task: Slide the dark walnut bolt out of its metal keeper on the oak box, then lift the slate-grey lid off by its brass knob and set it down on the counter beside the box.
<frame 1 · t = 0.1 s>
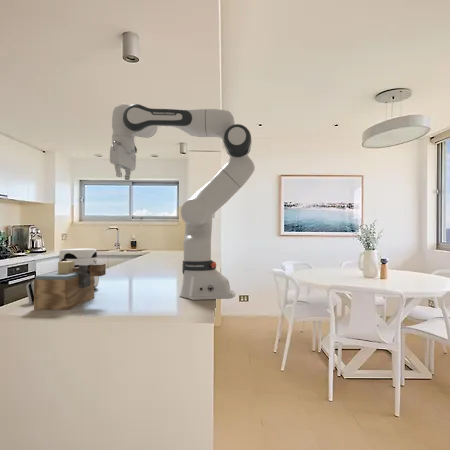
hand: (123, 178, 146), 48 cm above the countertop, fingers open, 8 cm apart
bolt: (88, 269, 129), point 12 cm above the countertop, slide at 0.0 cm
box: (66, 303, 130), on the countertop
milk container: (78, 290, 157), on the countertop
lid: (66, 275, 130), point 10 cm above the countertop, touching box
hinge: (45, 299, 138), on the countertop
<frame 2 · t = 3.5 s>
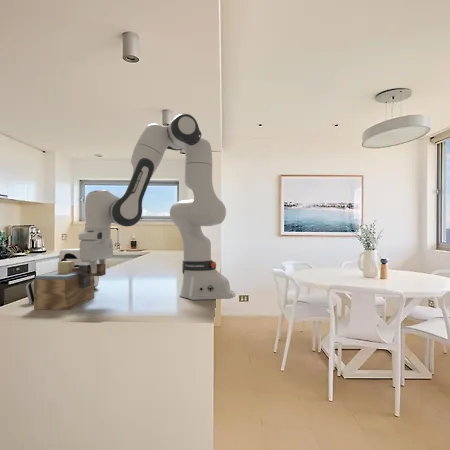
hand: (98, 272, 129), 11 cm above the countertop, fingers closed on bolt, 4 cm apart
bolt: (88, 269, 129), point 12 cm above the countertop, slide at 0.0 cm, touching gripper
everything else where it was.
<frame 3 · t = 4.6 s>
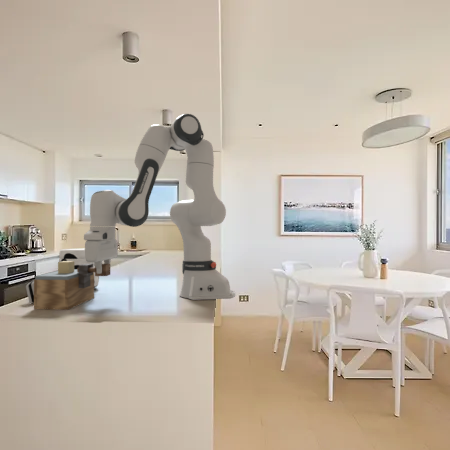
hand: (103, 272, 129), 11 cm above the countertop, fingers closed on bolt, 4 cm apart
bolt: (93, 269, 129), point 12 cm above the countertop, slide at 1.8 cm, touching gripper
everything else where it was.
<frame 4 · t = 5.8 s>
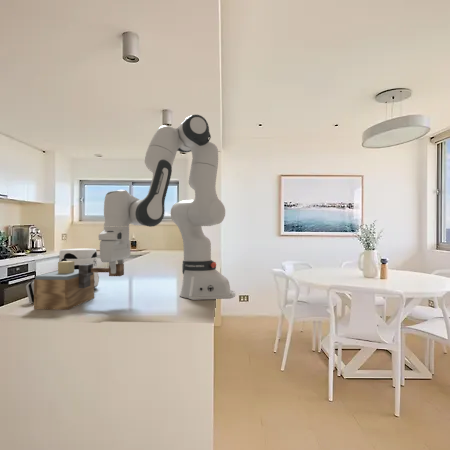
hand: (116, 272, 128), 11 cm above the countertop, fingers closed on bolt, 4 cm apart
bolt: (107, 269, 129), point 12 cm above the countertop, slide at 7.0 cm, touching gripper
everything else where it was.
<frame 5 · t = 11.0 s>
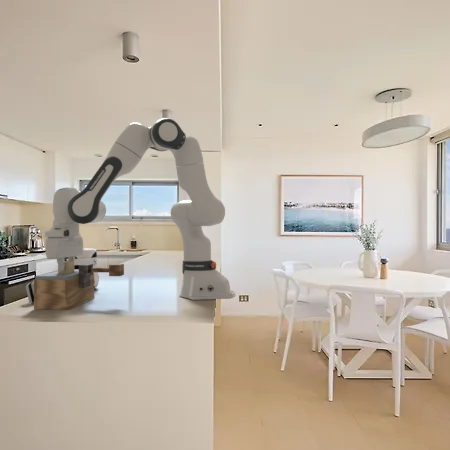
hand: (66, 269, 130), 12 cm above the countertop, fingers closed on lid, 4 cm apart
bolt: (107, 269, 129), point 12 cm above the countertop, slide at 7.0 cm
lid: (66, 275, 130), point 10 cm above the countertop, touching box, gripper
everything else where it was.
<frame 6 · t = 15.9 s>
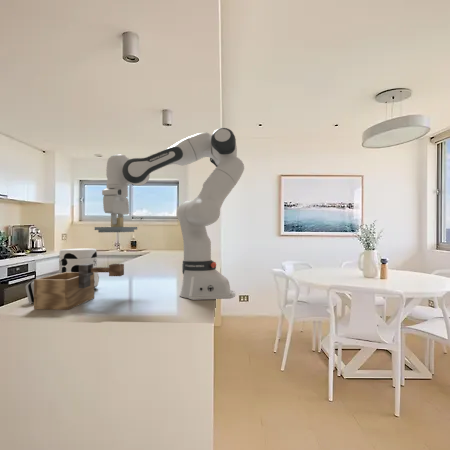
hand: (117, 224, 153), 29 cm above the countertop, fingers closed on lid, 4 cm apart
lid: (117, 229, 153), point 27 cm above the countertop, touching gripper
everything else where it was.
when the fingers open (5 cm above the countertop, at t = 20.8 s): lid drops 2 cm, point 1 cm above the countertop.
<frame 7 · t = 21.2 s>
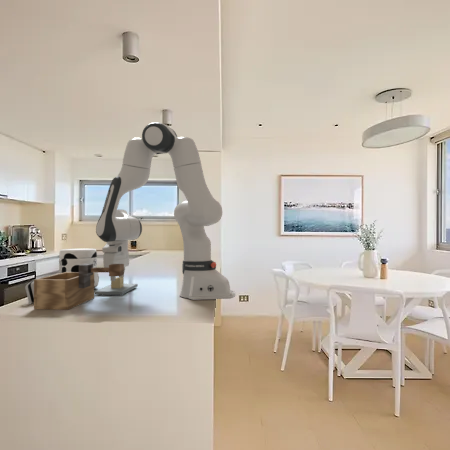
hand: (117, 279, 153), 5 cm above the countertop, fingers open, 8 cm apart
lid: (117, 290, 153), point 1 cm above the countertop
everything else where it was.
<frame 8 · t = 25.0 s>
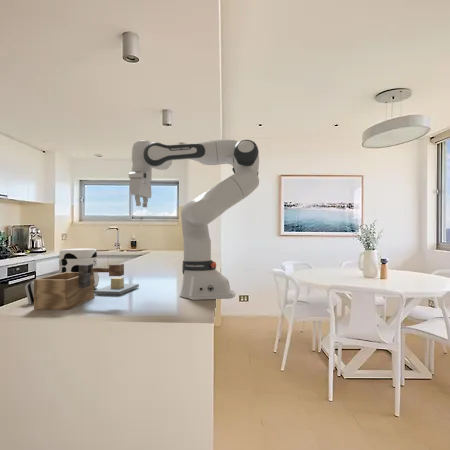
hand: (141, 206, 161), 37 cm above the countertop, fingers open, 8 cm apart
nothing on the countertop moved.
at the end: bolt slide at 7.0 cm; lid touching countertop; lid inside the target area (0.1 cm from its centre), point 0.5 cm above the countertop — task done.
